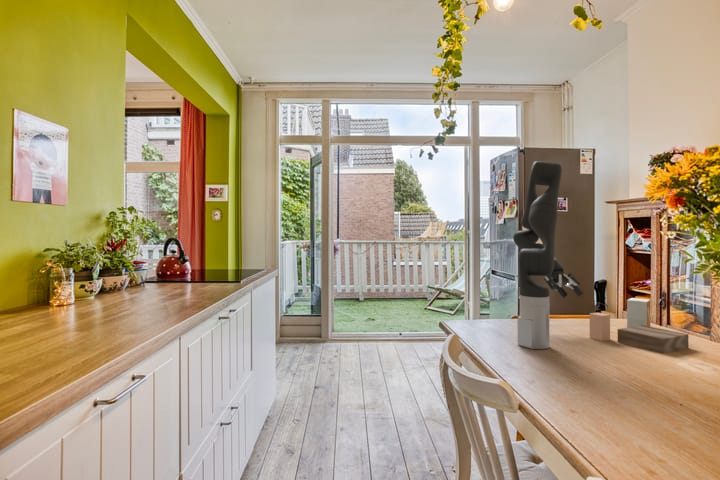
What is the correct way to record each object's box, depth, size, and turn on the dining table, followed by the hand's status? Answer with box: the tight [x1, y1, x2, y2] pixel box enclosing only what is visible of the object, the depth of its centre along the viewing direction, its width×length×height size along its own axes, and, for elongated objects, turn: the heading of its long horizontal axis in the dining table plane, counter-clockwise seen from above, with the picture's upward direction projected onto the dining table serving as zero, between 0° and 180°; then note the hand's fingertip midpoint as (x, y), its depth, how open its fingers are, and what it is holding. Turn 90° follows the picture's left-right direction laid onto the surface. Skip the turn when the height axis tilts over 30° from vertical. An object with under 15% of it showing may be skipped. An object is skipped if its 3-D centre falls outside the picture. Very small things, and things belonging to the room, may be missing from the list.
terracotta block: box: [589, 312, 611, 342], centre depth 133 cm, size 4×4×9 cm
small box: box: [626, 297, 651, 328], centre depth 140 cm, size 8×6×13 cm
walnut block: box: [617, 325, 689, 354], centre depth 125 cm, size 14×14×5 cm
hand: (573, 296), depth 142 cm, fingers open, 8 cm apart
